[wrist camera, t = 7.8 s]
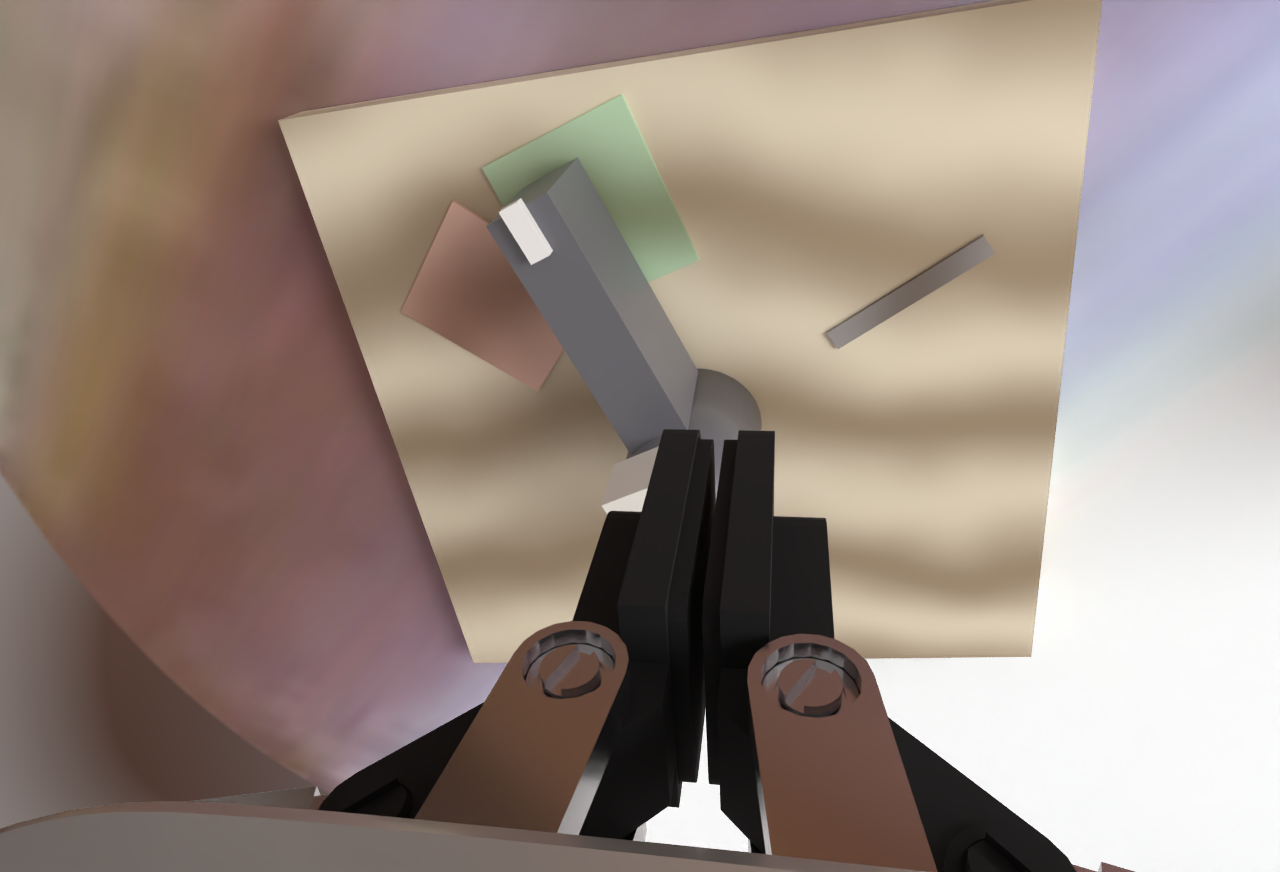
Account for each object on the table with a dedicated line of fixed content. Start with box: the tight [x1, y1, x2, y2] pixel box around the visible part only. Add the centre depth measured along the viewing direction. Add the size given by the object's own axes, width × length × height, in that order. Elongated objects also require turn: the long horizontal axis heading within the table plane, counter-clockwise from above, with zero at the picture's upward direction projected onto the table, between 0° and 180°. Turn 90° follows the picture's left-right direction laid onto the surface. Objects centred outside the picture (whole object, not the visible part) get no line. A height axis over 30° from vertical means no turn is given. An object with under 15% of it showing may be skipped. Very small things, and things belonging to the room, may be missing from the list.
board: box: [278, 0, 1102, 663], centre depth 30 cm, size 24×24×2 cm
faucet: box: [486, 157, 762, 514], centre depth 25 cm, size 13×4×8 cm, turn 29°
